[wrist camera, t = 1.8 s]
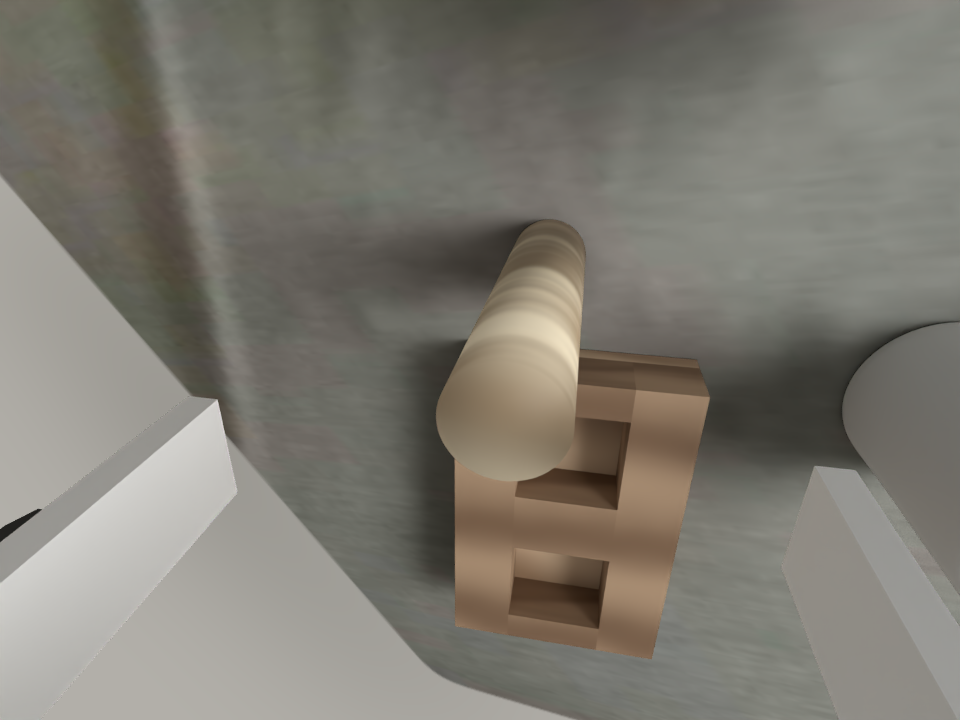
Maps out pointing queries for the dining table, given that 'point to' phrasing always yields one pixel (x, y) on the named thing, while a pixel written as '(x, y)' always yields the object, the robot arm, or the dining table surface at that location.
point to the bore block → (588, 514)
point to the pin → (520, 362)
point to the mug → (914, 433)
